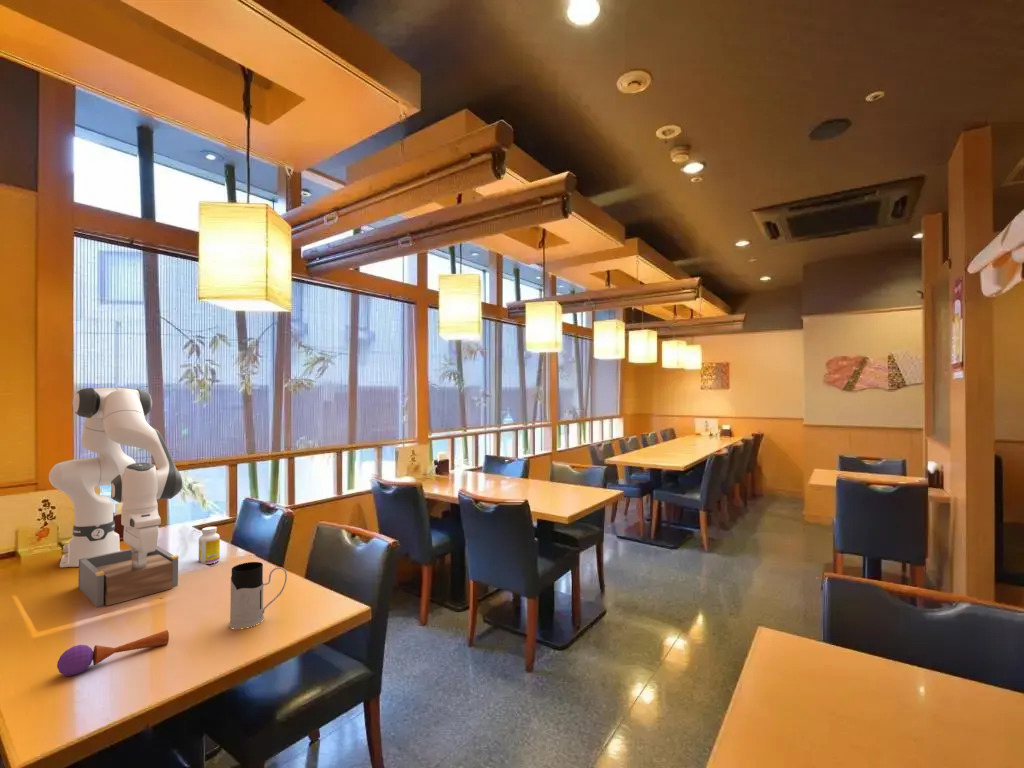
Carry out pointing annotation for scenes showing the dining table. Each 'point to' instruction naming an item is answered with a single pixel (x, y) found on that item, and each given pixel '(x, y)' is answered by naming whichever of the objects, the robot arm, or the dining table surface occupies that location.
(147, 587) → the wooden block with knob
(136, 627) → the dining table surface
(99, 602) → the bay
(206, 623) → the dining table surface
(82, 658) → the purple maraca
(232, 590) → the glass holder
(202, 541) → the supplement bottle
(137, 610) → the dining table surface
